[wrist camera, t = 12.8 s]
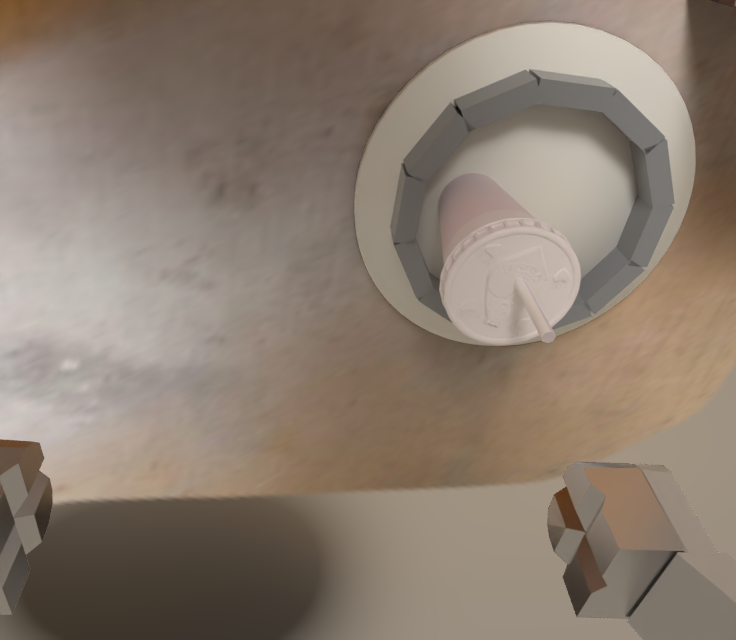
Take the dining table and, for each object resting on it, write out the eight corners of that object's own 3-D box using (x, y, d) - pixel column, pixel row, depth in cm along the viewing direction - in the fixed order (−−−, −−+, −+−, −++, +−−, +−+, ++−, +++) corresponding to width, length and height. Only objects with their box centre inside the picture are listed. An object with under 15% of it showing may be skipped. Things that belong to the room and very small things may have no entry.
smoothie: (545, 173, 35) (655, 308, 24) (490, 265, 38) (563, 423, 27) (446, 132, 34) (512, 255, 22) (397, 231, 37) (432, 385, 25)
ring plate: (381, -7, 30) (386, 1, 28) (749, 49, 33) (784, 61, 31) (335, 325, 41) (336, 352, 39) (614, 347, 44) (632, 374, 42)
